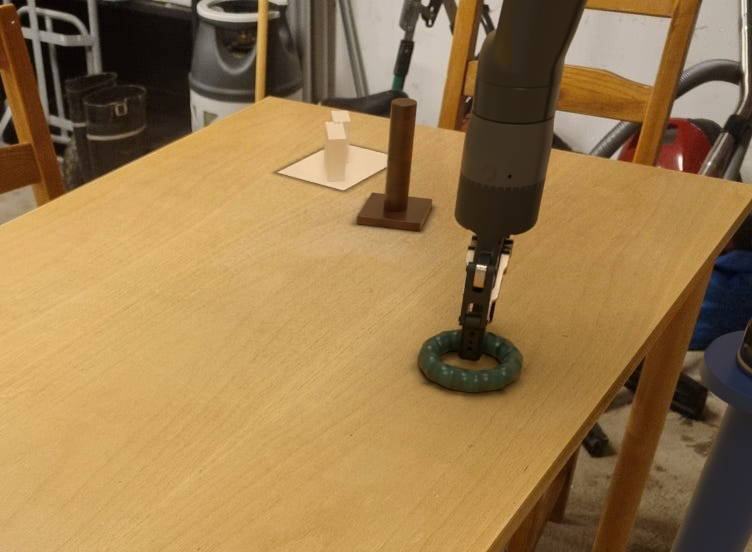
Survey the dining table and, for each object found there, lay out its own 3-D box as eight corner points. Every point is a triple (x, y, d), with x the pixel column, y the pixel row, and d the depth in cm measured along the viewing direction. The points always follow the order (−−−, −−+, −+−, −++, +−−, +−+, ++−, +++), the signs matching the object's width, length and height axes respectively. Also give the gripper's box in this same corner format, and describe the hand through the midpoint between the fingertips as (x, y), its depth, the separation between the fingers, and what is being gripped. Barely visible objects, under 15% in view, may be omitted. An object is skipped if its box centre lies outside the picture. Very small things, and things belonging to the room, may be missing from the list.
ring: (525, 351, 94) (529, 333, 93) (513, 402, 87) (517, 383, 86) (428, 337, 96) (430, 319, 95) (408, 386, 90) (410, 368, 88)
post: (431, 206, 120) (444, 94, 111) (419, 231, 115) (431, 115, 105) (371, 200, 122) (378, 88, 112) (356, 224, 116) (363, 109, 107)
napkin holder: (344, 190, 124) (346, 144, 120) (276, 172, 129) (276, 127, 125) (403, 157, 132) (406, 113, 128) (336, 141, 137) (338, 98, 133)
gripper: (537, 202, 76) (503, 381, 88) (555, 144, 86) (521, 312, 98) (447, 192, 78) (425, 369, 90) (474, 136, 87) (450, 302, 99)
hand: (475, 339), depth 94 cm, fingers open, 7 cm apart
